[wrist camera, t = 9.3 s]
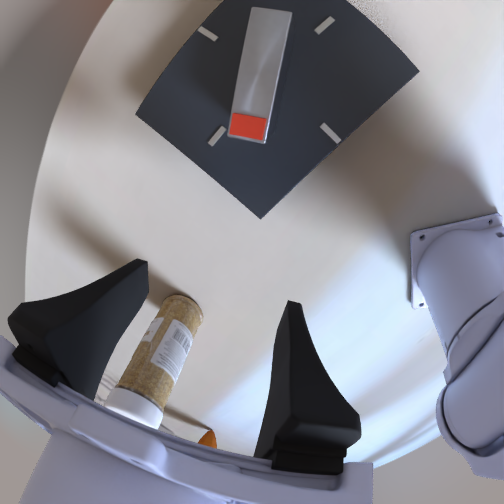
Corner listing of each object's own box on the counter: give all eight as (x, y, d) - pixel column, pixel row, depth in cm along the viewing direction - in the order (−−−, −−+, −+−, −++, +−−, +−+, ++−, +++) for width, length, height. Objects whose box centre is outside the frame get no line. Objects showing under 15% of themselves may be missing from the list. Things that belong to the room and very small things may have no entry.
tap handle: (263, 25, 12) (250, 4, 8) (295, 30, 12) (292, 10, 8) (243, 128, 15) (224, 137, 12) (273, 134, 15) (264, 145, 12)
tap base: (280, -28, 11) (275, -47, 9) (403, 74, 14) (421, 71, 11) (155, 110, 18) (133, 114, 16) (266, 203, 21) (260, 220, 18)
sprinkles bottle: (158, 291, 28) (91, 399, 16) (199, 294, 27) (140, 416, 15) (170, 324, 30) (118, 426, 19) (209, 328, 29) (163, 442, 18)
